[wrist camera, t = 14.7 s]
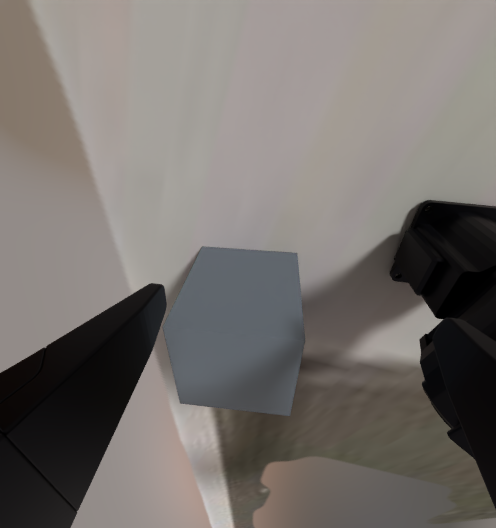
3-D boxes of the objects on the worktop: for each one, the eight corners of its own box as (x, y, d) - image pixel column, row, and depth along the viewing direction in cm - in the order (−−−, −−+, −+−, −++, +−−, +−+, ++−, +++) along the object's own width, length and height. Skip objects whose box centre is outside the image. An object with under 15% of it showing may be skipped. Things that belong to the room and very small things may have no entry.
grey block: (297, 253, 21) (305, 340, 14) (287, 321, 26) (289, 416, 18) (202, 246, 22) (162, 327, 15) (208, 315, 26) (180, 403, 19)
